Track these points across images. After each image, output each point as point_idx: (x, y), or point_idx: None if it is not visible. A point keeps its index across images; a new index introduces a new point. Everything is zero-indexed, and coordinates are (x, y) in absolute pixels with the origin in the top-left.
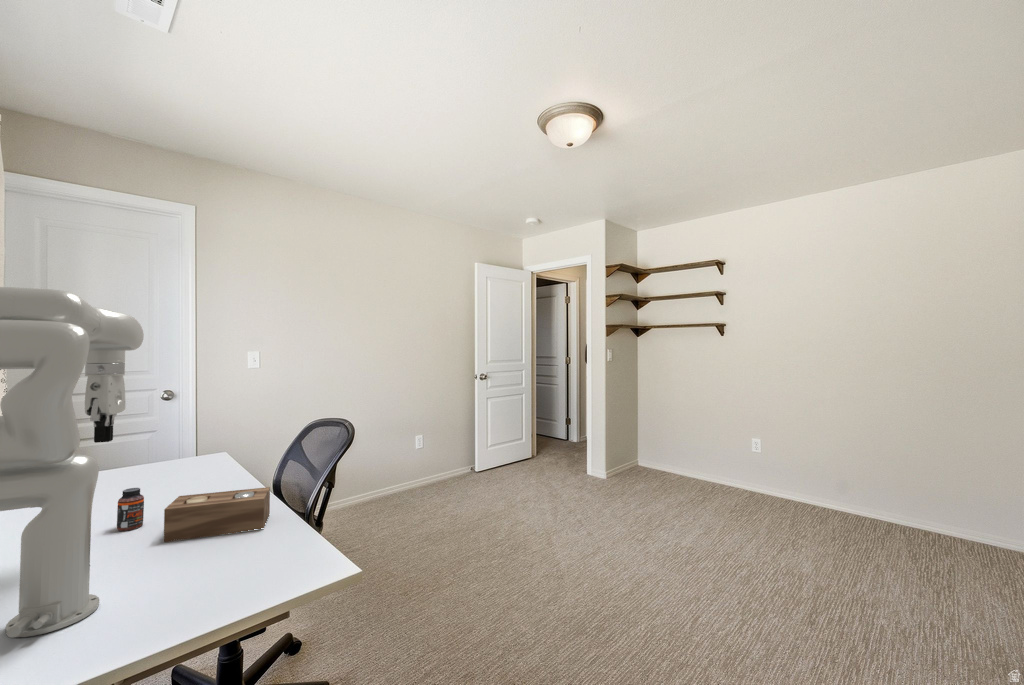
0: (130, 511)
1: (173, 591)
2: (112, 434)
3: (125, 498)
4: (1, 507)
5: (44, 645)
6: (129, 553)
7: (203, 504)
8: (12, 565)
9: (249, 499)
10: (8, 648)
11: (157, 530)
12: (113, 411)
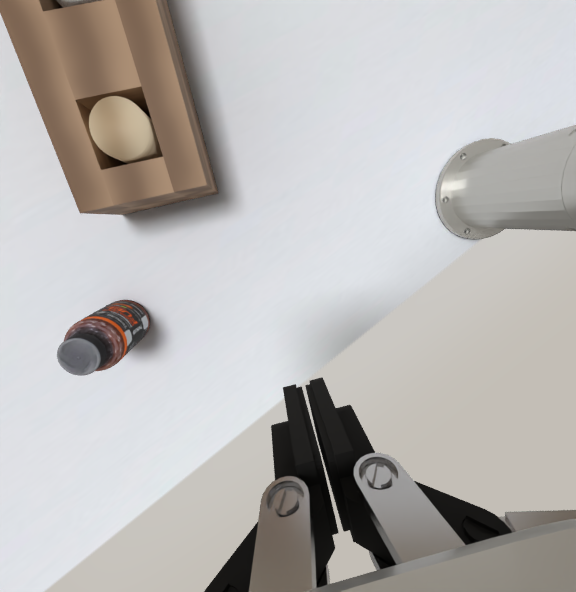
0: (128, 322)
1: (447, 39)
2: (293, 408)
3: (111, 350)
4: None
5: None
6: (266, 230)
7: (171, 79)
8: None
9: None
10: None
11: (146, 250)
12: (556, 573)
